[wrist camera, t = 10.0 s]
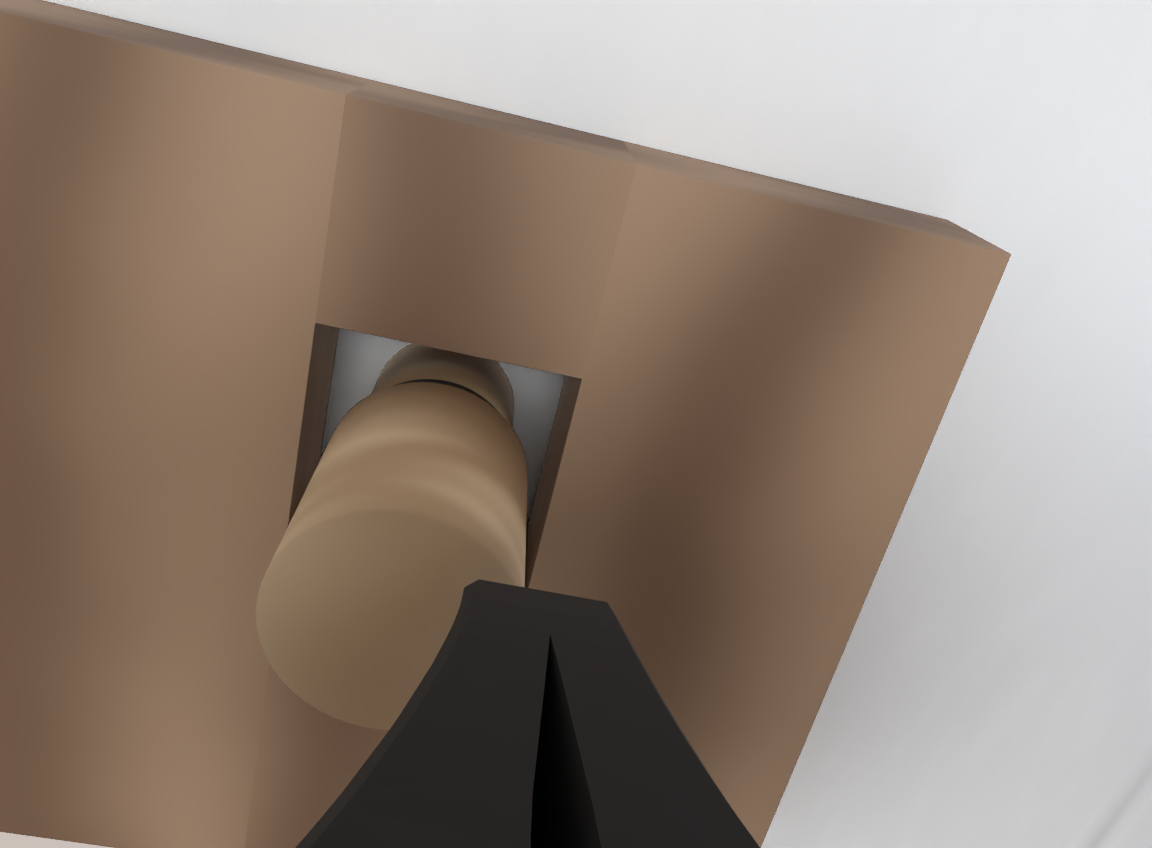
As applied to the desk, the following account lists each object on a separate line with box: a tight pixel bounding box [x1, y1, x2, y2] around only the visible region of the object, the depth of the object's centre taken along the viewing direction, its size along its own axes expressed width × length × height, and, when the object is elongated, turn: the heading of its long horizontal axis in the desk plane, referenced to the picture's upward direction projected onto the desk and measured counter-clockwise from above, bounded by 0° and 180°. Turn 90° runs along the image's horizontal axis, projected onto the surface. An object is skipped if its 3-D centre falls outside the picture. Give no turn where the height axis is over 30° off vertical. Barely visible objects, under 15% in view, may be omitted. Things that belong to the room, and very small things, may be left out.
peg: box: [256, 343, 528, 730], centre depth 15 cm, size 3×3×7 cm
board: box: [0, 0, 1011, 848], centre depth 17 cm, size 18×15×2 cm
